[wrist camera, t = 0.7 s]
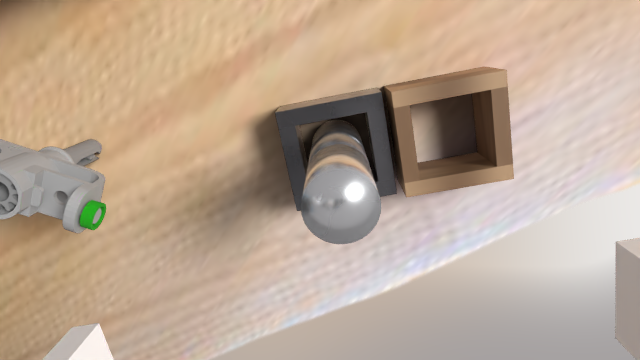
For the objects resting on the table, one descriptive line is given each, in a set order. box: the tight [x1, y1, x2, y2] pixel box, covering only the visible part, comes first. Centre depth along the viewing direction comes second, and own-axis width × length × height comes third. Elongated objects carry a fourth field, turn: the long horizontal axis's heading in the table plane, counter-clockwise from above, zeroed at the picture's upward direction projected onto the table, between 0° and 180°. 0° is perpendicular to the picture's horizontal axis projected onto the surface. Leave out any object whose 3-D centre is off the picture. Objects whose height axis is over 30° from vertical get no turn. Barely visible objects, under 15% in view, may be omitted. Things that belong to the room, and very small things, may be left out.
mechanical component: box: [0, 139, 106, 233], centre depth 28 cm, size 3×10×10 cm, turn 70°
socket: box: [275, 88, 397, 211], centre depth 31 cm, size 7×7×3 cm
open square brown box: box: [384, 67, 514, 197], centre depth 29 cm, size 7×7×4 cm
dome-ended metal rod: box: [301, 120, 381, 244], centre depth 26 cm, size 4×4×13 cm
